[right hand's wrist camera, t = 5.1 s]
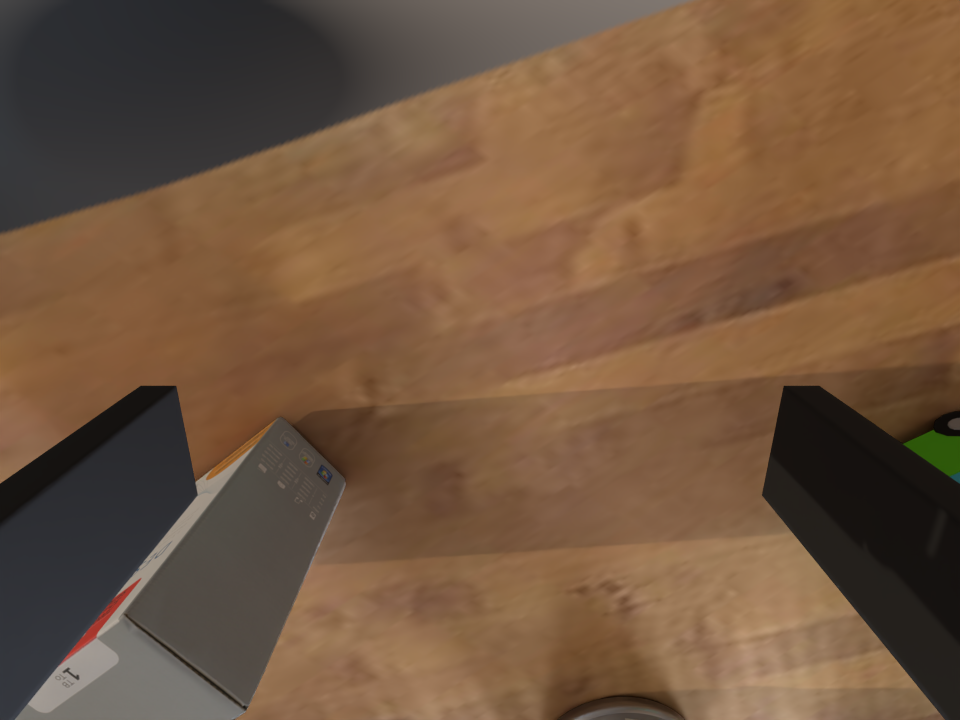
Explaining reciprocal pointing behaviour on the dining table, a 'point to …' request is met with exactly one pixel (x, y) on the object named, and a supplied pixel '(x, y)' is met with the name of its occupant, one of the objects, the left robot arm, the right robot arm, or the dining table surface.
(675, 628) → the dining table surface
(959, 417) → the toy car
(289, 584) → the hard drive box
